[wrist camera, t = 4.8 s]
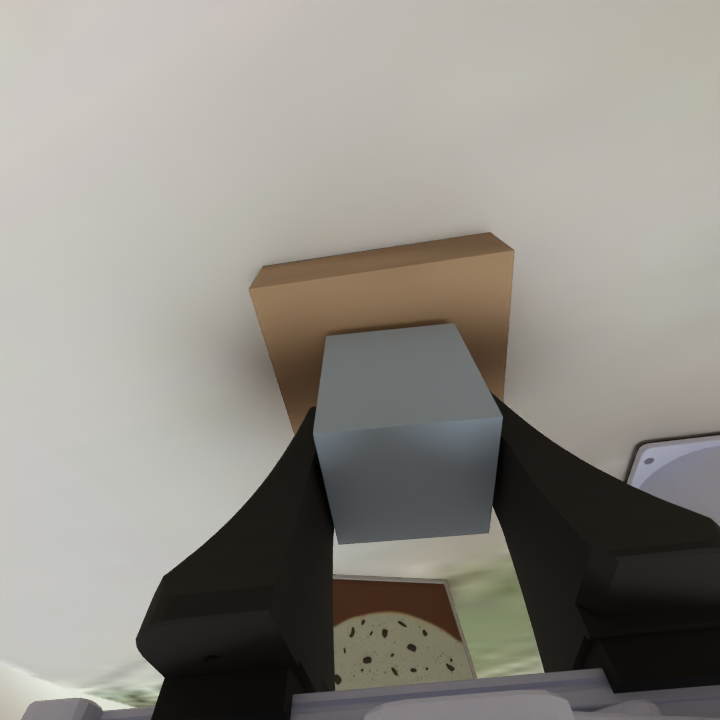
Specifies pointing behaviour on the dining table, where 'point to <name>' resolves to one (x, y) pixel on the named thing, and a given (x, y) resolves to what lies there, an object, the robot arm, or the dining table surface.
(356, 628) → the food container
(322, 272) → the base
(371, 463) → the block
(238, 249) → the dining table surface
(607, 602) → the robot arm
